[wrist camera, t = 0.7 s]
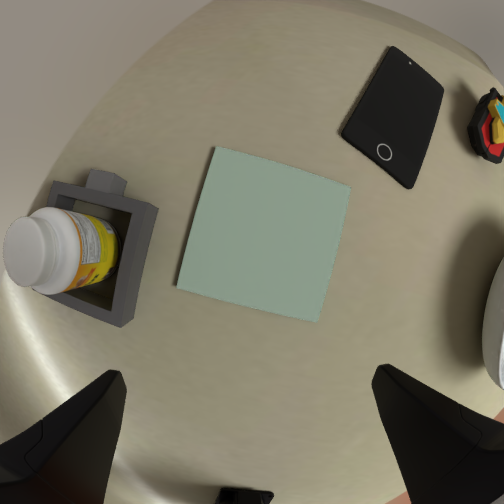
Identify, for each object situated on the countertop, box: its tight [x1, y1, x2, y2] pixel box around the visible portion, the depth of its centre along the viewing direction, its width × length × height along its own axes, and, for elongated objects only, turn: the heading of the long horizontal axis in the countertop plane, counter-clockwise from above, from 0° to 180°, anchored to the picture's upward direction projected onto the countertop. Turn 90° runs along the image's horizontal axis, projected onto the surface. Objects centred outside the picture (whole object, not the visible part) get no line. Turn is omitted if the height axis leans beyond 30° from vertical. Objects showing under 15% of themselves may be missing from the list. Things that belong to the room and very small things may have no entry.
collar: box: [32, 169, 159, 328], centre depth 19 cm, size 11×10×3 cm
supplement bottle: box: [3, 207, 121, 295], centre depth 16 cm, size 6×6×10 cm
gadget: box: [467, 87, 504, 164], centre depth 22 cm, size 6×13×6 cm, turn 138°
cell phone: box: [341, 46, 444, 189], centre depth 23 cm, size 9×18×1 cm, turn 148°
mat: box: [176, 146, 351, 323], centre depth 22 cm, size 12×12×1 cm
